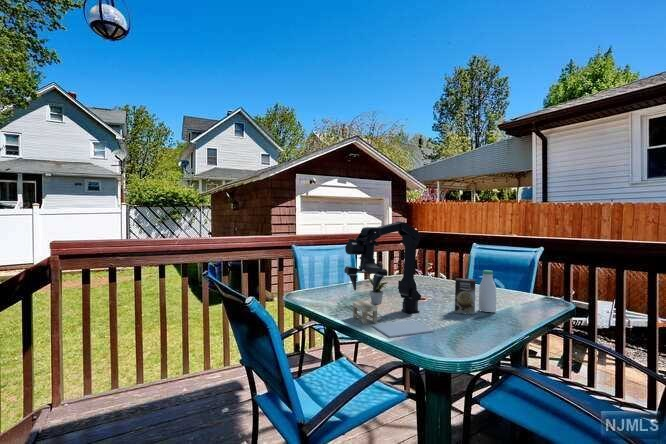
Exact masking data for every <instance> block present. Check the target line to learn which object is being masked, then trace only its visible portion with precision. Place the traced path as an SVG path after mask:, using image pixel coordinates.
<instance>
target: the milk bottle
mask: <svg viewBox="0 0 666 444" xmlns="http://www.w3.org/2000/svg"><path fill="white" fill-rule="evenodd" d="M493 276H494V271H493V270H489V269H484V270H482V278H481V281H480V283H479V287H478V288H479V289H478V310H481V311H485V312H495V311H496V312H497V287H496V283H495V281H494V278H493ZM481 311H480V312H481ZM496 312H495V313H496Z"/></svg>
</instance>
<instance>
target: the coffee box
mask: <svg viewBox="0 0 666 444" xmlns="http://www.w3.org/2000/svg"><path fill="white" fill-rule="evenodd" d="M454 281H455V285H454V286H455V290H454V291H455V292H454V313H455V314H460V313H466V314H465V315H469V314H476V279H475V278H474V279H473V278H460V277H455V280H454Z"/></svg>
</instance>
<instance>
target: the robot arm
mask: <svg viewBox="0 0 666 444" xmlns="http://www.w3.org/2000/svg"><path fill="white" fill-rule="evenodd" d="M396 232H397V233H398V235H399V236H401V237H402V238H401V240H402V244H403V247H404V257H403V258H404V261H403V273H402V274H403V276H402V279H401V280H398V284H397V290H398V293H399V294H400V297H401V298H402V299H403V301H402V308H401V311H402V312H404V313H407V314H417V313H420V310H419V309H418V308H419V301H421V299H422V295H421V294H420V292H419V291H418V289H417V282H416V280H415V265H416V264H415V261H416V260H415V259H416V250H417V249H416V248H418V246H419V244H420V240H421V233H420V232H419V230H417V229H415V228H414V227H412V226H410V225H409V224H407V223H406V221H405V222H404V221H396V222H393V223H389V224H385V225H384V224H383V225H380V226H366V227H365V226H364V227H362V228H361V230H360V233H359V234H358V236H356V238H348V241H347V242H346V245H345V247H344V249H345V253H346V254H347V255H348V256H349V255H352V256H359V260H360V262H359V263H360V264H359V265H358V268H357V267H355V266H349V265H348V266H345V267H344V269H343V270H344V271H343V272H344V274H346V275H347V276H348V277H349V278H350V279H349V280H350V282H351V285H352V287H353V291H356V290H357V278H358V274H368V275H373V276H372V277H373V278H372V281H373V285H372V288H373V289H372V290H373V291H375V290H376V288H377V285H378V283H379V281H380V280H381V279H382V280H383V279H385V277H388V276H389V273H388V270H387V269H386V268H384V267H383V266H384V265H383V263H382V262H377V263H376V259H375V247H379V243H378V242H377V240H378V239H380V238H381V237H382V236H384V235H388V234H391V233H396ZM382 280H381V281H382Z"/></svg>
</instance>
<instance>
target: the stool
mask: <svg viewBox="0 0 666 444" xmlns="http://www.w3.org/2000/svg"><path fill="white" fill-rule="evenodd" d="M358 311H361V314H359V313H358ZM371 312H372V314H371ZM367 317H369V318H371V319H372V323H373V324H378V306H377V305H376V304H372V302H369V301H367V300H363V301H362V300H361V301H359V300H358V301H353V302H352V318H353V319H357V318H359V319H360V320H361V324H362V325H367V321H368V320H367Z"/></svg>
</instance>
